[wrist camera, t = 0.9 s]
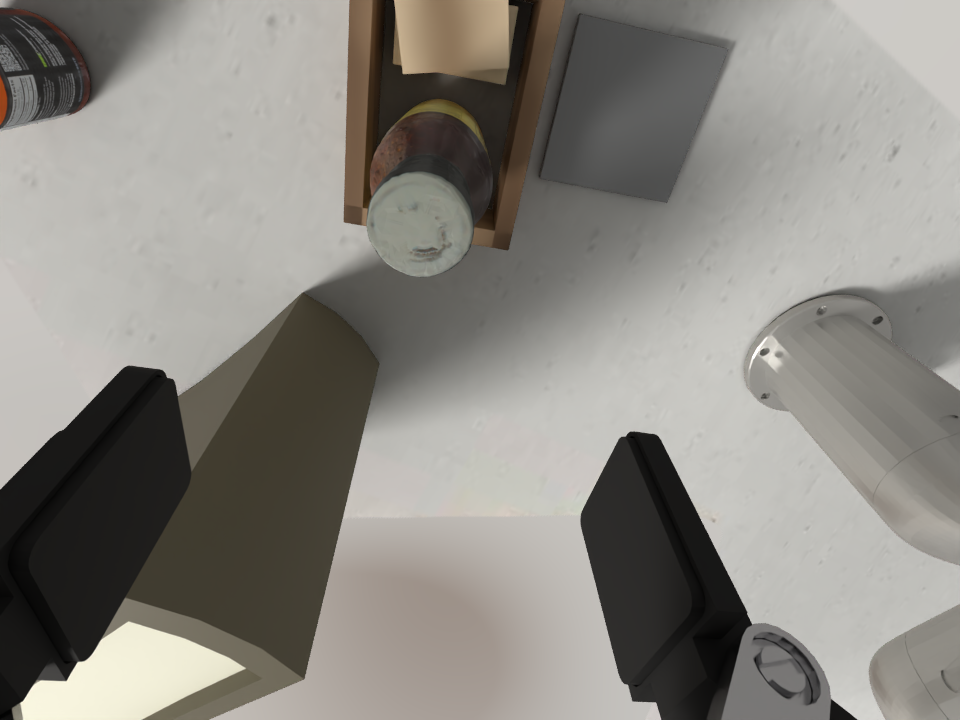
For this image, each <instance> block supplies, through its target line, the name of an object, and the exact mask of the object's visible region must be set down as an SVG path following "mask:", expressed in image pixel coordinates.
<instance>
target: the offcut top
mask: <svg viewBox="0 0 960 720" xmlns="http://www.w3.org/2000/svg"><path fill="white" fill-rule="evenodd" d="M394 3H395V12H396V20H397V29H398V37H399V45H400V54H401V62H402V71H403V74H415V73H432V72H450V71H467V70H485V69H503V68H509V13H508V0H394Z"/></svg>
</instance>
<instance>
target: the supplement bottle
mask: <svg viewBox="0 0 960 720" xmlns="http://www.w3.org/2000/svg"><path fill="white" fill-rule="evenodd" d="M90 87H91V85H90V76H89V72H88V70H87V67H86V64H85V62H84V60H83V58H82V55H81V54H80V52H79V51H78V49H77V48H76V46H75V45H74V44H73V42H72V41H71V40H70V39H69V38H68V37H67V36H66V35H65V34H64V33H63V32H62V31H61V30H60V29H59V28H58V27H56V26H55V25H54V24H52V23H51V22H49V21H48V20H46V19H44V18H42V17H40V16H38V15H36V14H34V13H31V12H28V11H25V10H21V9H13V8H0V131H3V130H8V129H13V128H17V127H21V126H26V125H30V124H34V123H39V122H44V121H48V120H52V119H57V118H61V117H64V116H68V115H71V114H74V113H76V112H78V111H79V110H81V109H82V108H83V107H84V105H85V104H86V102H87V100H88V98H89V94H90Z"/></svg>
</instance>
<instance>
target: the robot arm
mask: <svg viewBox="0 0 960 720" xmlns="http://www.w3.org/2000/svg"><path fill="white" fill-rule="evenodd" d="M891 340H892V326H891V323H890V320H889V318H888V316H887V315H886V314H885V313H884V311H883V310H882V309H881V308H879V307H878V306H876V305H875V304H873V303H872V302H870V301H868V300H866V299H864V298H861V297H858V296H852V295H831V296H825V297H820V298H817V299H813V300H810V301H807V302H805V303H802V304H800V305H798V306H796V307H794V308H792V309H790V310H789V311H787V312H786V313H784V314H782V315H781V316H779V317H778V318H777V319H775V320H774V321H773V322H772V323H771V324H770V325H768V326H767V327H766V328H765V329H764V331H763V332H762V333H761V334H760V335H759V336H758V337H757V339H756V340H755V342H754V343H753V345H752V346H751V348H750V350H749V352H748V355H747V357H746V360H745V365H744V379H745V382H746V385H747V387H748V389H749V390H750V392H751V393H752V394H753V396H754V397H755V398H756V399H757V400H758V401H759V402H760V403H762V404H764V405H765V406H767V407H770V408H773V409H775V410H781V411H790V413H791V414H792V415H793V416H794V417H795V418H796V420H797V421H798V422H799V423H800V424H801V425H802V427H803V428H804V429H805V430H806V431H807V432H808V434H809V435H810V436H811V437H812V438H813V439H814V441H815V442H816V443H817V444H818V445H819V446H820V448H821V449H822V450H823V451H824V452H825V453H826V455H827V456H828V457H829V458H830V459H831V461H832V462H833V463H834V464H835V465H836V466H837V468H838V469H839V470H840V471H841V472H842V473H843V475H844V476H845V477H846V478H847V479H848V480H849V482H850V483H851V484H852V485H853V486H854V487H855V489H856V490H857V491H858V492H859V493H860V494H861V496H862V497H863V498H864V499H865V500H866V501H867V503H868V504H869V505H870V506H871V507H872V508H873V509H874V511H875V512H876V513H877V514H878V515H879V516H880V518H881V519H882V520H883V521H884V522H885V523H886V524H887V526H888V527H889V528H890V529H891V530H892V531H893V532H894V533H895V534H896V535H897V536H899V537H900V538H901V539H902V540H904V541H905V542H906V543H908V544H909V545H911V546H913V547H914V548H916V549H917V550H919V551H921V552H923V553H926V554H928V555H930V556H933V557H935V558H938V559H941V560H943V561H946V562H949V563H953V564H956V565H960V391H959V390H958V389H957V388H955V387H954V386H952V385H951V384H950V383H948V382H947V381H946V380H944V379H943V378H941V377H940V376H939V375H937V374H936V373H934V372H933V371H932V370H930V369H929V368H928V367H926V366H925V365H923V364H922V363H921V362H919V361H918V360H916V359H915V358H914V357H912V356H911V355H910V354H908V353H907V352H905V351H904V350H903V349H901V348H900V347H898V346H897V345H896V344H894V343H893V342H892V341H891ZM191 474H192V473H191V466H190V460H189V455H188V450H187V444H186V439H185V434H184V428H183V423H182V417H181V412H180V407H179V401H178V396H177V390H176V385H175V382H174V380H173V379H170V378H167V377H166V374H165V372H164V371H163V370H159V369H152V368H144V367H136V366H127V367H125V368H123V369H122V370H121V371H120V372H119V373H118V374H117V375H116V376H115V377H114V378H113V379H112V380H111V381H110V382H109V383H108V384H107V385H106V386H105V388H104V389H103V390H102V391H101V392H100V393H99V394H98V395H97V396H96V397H95V398H94V399H93V400H92V401H91V402H90V403H89V404H88V405H87V406H86V407H85V408H84V409H83V410H82V411H81V412H80V413H79V415H78V416H77V417H76V418H75V419H74V420H73V421H72V422H71V423H70V424H69V425H68V426H67V427H66V428H65V429H64V430H62V431H59V432H58V433H56V434H55V435H54V436H53V437H52V438H50V440H48V441H47V443H45V445H44V446H43V447H42V448H41V449H40V450H39V451H38V452H37V453H36V454H35V455H34V456H33V457H32V458H31V459H30V460H29V461H28V462H27V463H26V464H25V465H24V466H23V467H22V468H21V469H20V470H19V471H18V472H17V473H16V474H15V475H14V476H13V477H12V478H11V479H10V480H9V481H8V482H7V484H5V486H3V487H2V489H1V490H0V720H23V716H22V710H21V704H20V703H21V702H23V701H24V699H25V697H26V696H27V694H28V693H29V691H30V690H31V688H32V686H33V685H34V683H35V682H36V680H43V681H67V680H68V678H69V676H70V674H71V673H72V671H73V669H74V668H75V666H76V664H77V663H78V662H84V661H86V660H87V659H88V658H89V657H90V656H91V655H92V654H93V652H94V651H95V649H96V648H97V646H98V644H99V642H100V641H101V639H102V637H103V635H104V634H105V632H106V630H107V628H108V627H109V625H110V623H111V621H112V620H113V618H114V616H115V614H116V613H117V611H118V609H119V607H120V606H121V604H122V602H123V601H124V599H125V597H126V595H127V594H128V592H129V590H130V588H131V587H132V585H133V583H134V581H135V580H136V578H137V576H138V574H139V573H140V571H141V569H142V567H143V566H144V564H145V562H146V560H147V559H148V557H149V555H150V553H151V552H152V550H153V548H154V546H155V545H156V543H157V541H158V540H159V538H160V536H161V534H162V533H163V531H164V529H165V527H166V526H167V524H168V522H169V520H170V519H171V517H172V515H173V513H174V512H175V510H176V508H177V506H178V505H179V503H180V501H181V499H182V498H183V496H184V494H185V492H186V491H187V489H188V487H189V484H190V480H191ZM581 528H582V532H583V536H584V540H585V544H586V548H587V552H588V556H589V560H590V564H591V568H592V571H593V575H594V579H595V583H596V587H597V591H598V595H599V599H600V603H601V606H602V610H603V614H604V618H605V622H606V626H607V630H608V634H609V638H610V641H611V646H612V649H613V653H614V657H615V661H616V665H617V669H618V673H619V676H620V678H621V680H622V682H623V683H624V684H628V686H629V689H630V693H631V697H632V701H636V702H656V703H657V706H658V710H659V713H660V716H661V720H857V719H856V718H855V717H853V716H852V715H851V714H850V713H848V712H847V711H846V710H844V709H843V708H842V707H841V706H839V705H838V704H837V703H836V702H834V701H833V700H832V699H831V695H830V687H829V684H828V681H827V679H826V676H825V674H824V671H823V670H822V668H821V667H820V665H819V664H818V662H817V660H816V659H815V657H814V656H813V655H812V654H811V653H810V652H809V651H808V650H807V648H806V647H805V646H804V645H803V644H802V643H801V642H799V641H798V640H797V639H796V638H794V637H793V636H792V635H791V634H789V633H787V632H785V631H784V630H782V629H780V628H778V627H776V626H772V625H769V624H766V623H761V624H753V625H752V623H751V621H750V619H749V617H748V615H747V611H746V609H745V607H744V605H743V603H742V601H741V599H740V597H739V595H738V593H737V591H736V589H735V587H734V585H733V583H732V581H731V579H730V577H729V575H728V573H727V571H726V569H725V567H724V565H723V563H722V561H721V559H720V557H719V555H718V553H717V551H716V549H715V547H714V545H713V543H712V541H711V539H710V537H709V535H708V533H707V531H706V529H705V527H704V525H703V523H702V521H701V519H700V517H699V515H698V513H697V511H696V509H695V507H694V505H693V503H692V501H691V499H690V497H689V495H688V493H687V491H686V489H685V487H684V485H683V483H682V481H681V479H680V477H679V475H678V473H677V471H676V469H675V467H674V465H673V463H672V461H671V459H670V457H669V455H668V453H667V451H666V449H665V447H664V445H663V443H662V441H661V440H660V438H659V437H658V436H657V435H655V434H648V433H641V432H629V433H628V434H627V436H626V437H621V438H620V439H619V440H618V442H617V444H616V446H615V448H614V450H613V452H612V454H611V456H610V458H609V460H608V461H607V463H606V465H605V467H604V469H603V471H602V473H601V475H600V477H599V479H598V481H597V483H596V485H595V487H594V489H593V491H592V493H591V494H590V496H589V498H588V500H587V502H586V504H585V506H584V508H583V510H582V513H581ZM869 680H870V685H871V689H872V692H873V695H874V697H875V700H876V702H877V704H878V706H879V708H880V710H881V712H882V714H883V716H884V718H885V719H886V720H960V604H959V605H957V606H955V607H953V608H951V609H949V610H947V611H945V612H943V613H941V614H939V615H937V616H936V617H934V618H932V619H930V620H928V621H926V622H924V623H922V624H920V625H918V626H916V627H914V628H912V629H910V630H909V631H907V632H905V633H903V634H901V635H899V636H897V637H896V638H894V639H892V640H891V641H889V642H887V643H886V644H884V645H883V646H882V647H881V648H880V649H879V650H878V651H877V652H876V653H875V654H874V656H873V658H872V660H871V662H870V667H869Z"/></svg>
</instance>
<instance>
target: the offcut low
mask: <svg viewBox="0 0 960 720" xmlns="http://www.w3.org/2000/svg"><path fill="white" fill-rule="evenodd" d="M517 11H518V7H517V6H512V5H508V13H509V59H510V53H511V47H512V41H513V35H514V29H515V23H516V17H517ZM393 64H396V65H402V62H401V54H400V45H399V37H398V29H397V20H396V15H395V34H394V53H393ZM507 71H508V68H503V69H485V70H467V71H450V72H439V73H444V74H449V75H455V76H460V77H465V78H471V79H476V80H481V81H487V82H492V83H497V84H503V85H505V83H506V77H507Z"/></svg>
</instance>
